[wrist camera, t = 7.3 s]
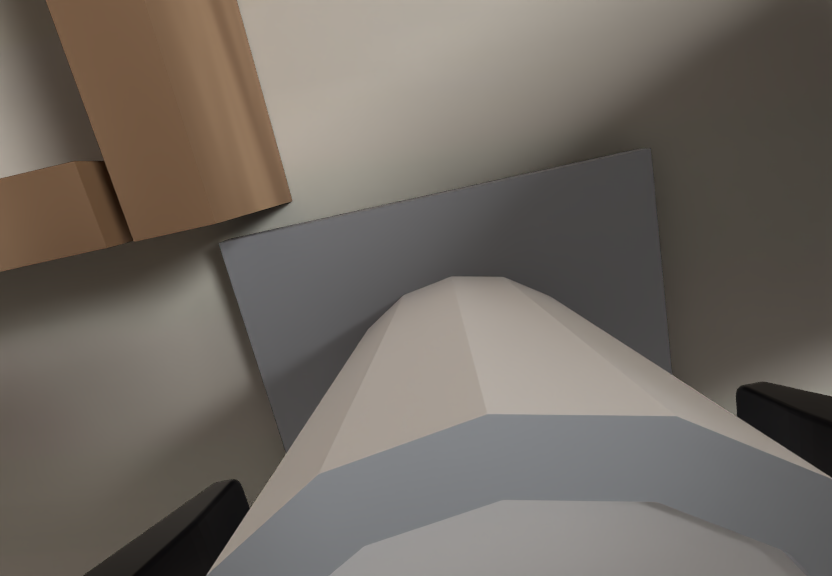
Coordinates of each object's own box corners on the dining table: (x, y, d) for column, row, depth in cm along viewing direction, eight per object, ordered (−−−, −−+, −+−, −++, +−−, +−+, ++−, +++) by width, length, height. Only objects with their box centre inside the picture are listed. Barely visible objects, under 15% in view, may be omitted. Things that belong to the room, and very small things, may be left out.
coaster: (638, 149, 10) (650, 148, 10) (673, 507, 12) (686, 524, 12) (229, 238, 11) (218, 243, 10) (332, 565, 13) (328, 584, 12)
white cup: (429, 567, 12) (434, 1077, 5) (259, 354, 11) (-17, 679, 4) (679, 435, 11) (1076, 861, 4) (527, 179, 10) (764, 222, 3)
